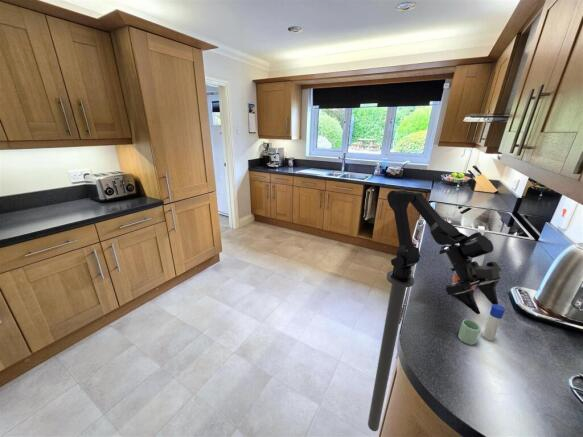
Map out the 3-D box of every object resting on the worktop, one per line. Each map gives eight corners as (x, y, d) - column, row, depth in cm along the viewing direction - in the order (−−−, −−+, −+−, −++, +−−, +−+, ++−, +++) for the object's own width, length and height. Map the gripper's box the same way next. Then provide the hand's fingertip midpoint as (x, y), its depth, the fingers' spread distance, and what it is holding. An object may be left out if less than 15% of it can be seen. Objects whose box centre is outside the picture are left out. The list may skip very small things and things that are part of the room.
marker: (482, 337, 76) (492, 307, 72) (482, 332, 78) (492, 302, 74) (493, 342, 74) (505, 311, 71) (493, 336, 77) (504, 306, 73)
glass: (456, 337, 76) (460, 323, 74) (461, 330, 79) (465, 317, 77) (473, 347, 73) (478, 333, 71) (477, 339, 75) (482, 325, 73)
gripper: (464, 260, 71) (495, 315, 65) (502, 249, 78) (533, 298, 72) (434, 270, 80) (459, 319, 74) (470, 259, 87) (495, 303, 81)
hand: (487, 309), depth 75 cm, fingers open, 9 cm apart
